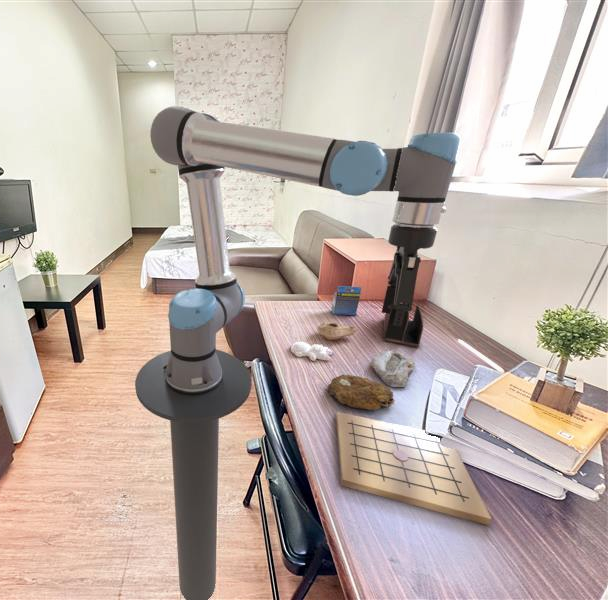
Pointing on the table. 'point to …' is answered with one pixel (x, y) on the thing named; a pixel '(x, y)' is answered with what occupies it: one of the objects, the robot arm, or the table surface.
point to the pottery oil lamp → (335, 330)
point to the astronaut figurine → (311, 351)
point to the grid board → (406, 467)
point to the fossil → (393, 367)
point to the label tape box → (346, 301)
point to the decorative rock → (360, 392)
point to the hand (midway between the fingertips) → (390, 324)
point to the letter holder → (408, 329)
